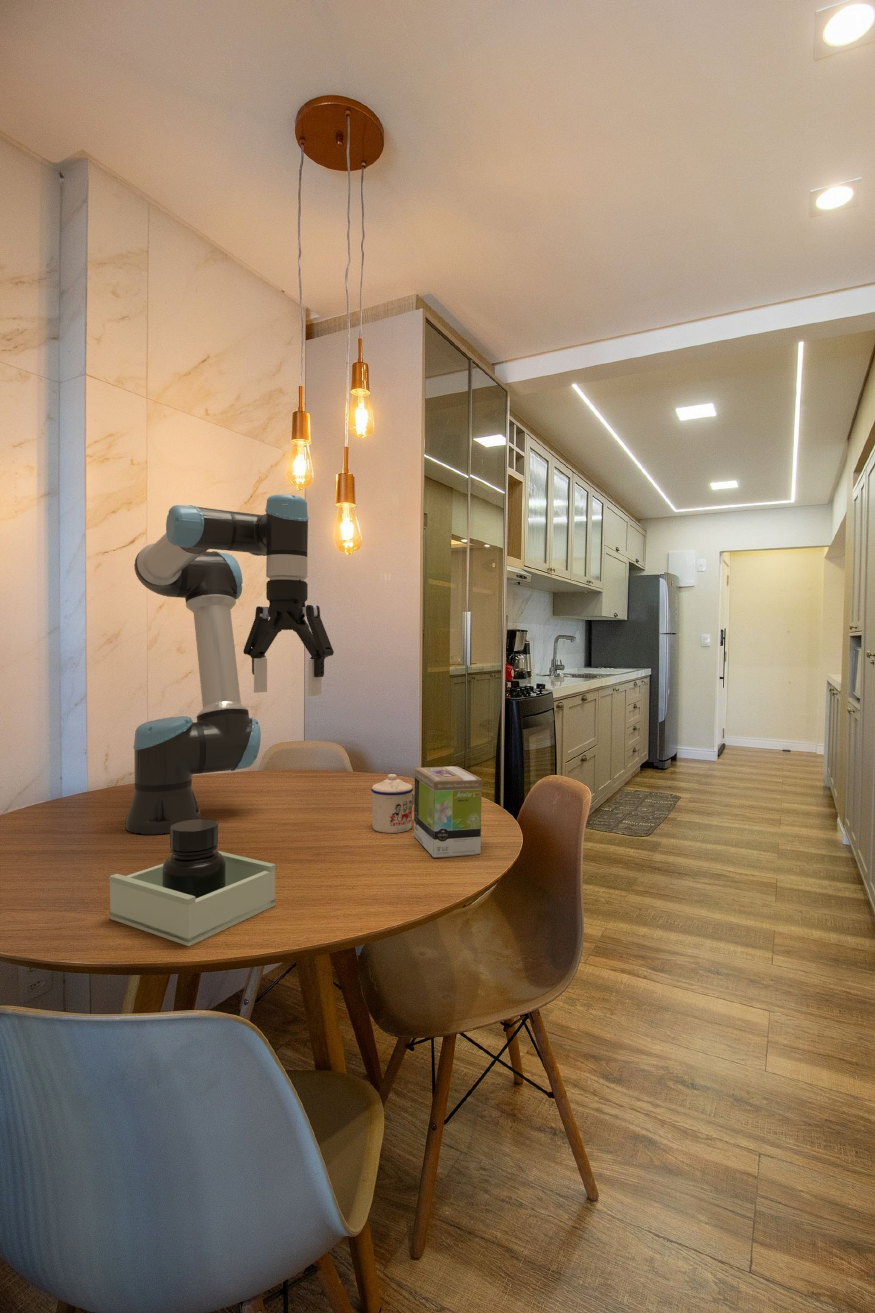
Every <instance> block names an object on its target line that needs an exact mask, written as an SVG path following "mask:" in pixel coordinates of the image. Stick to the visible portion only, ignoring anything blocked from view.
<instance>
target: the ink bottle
mask: <svg viewBox="0 0 875 1313" xmlns="http://www.w3.org/2000/svg"><path fill="white" fill-rule="evenodd" d="M218 847H219V822H218V821H216V820H214V819H213V820H212V819H208V818H207V819H205V818H203V819H202V818H200V819H196V820H187V821H181V822H178V823H175V824H173V825H171V827H170V833H169V848H170V849H169V850H170V852H171V854H170V856H168V858H167V859H166V860H165V861H164V862H163V863H162V864H163V874H162V887H165V888H168V889H171V890H175V891H178V892H182V893H185V894H188V895H192V896H195V899H197V898H199V897H202V896H204V895H207V894H209V893H211V892H214V891H216V890H219V889H221V888H224V887H226V869H225V858H224V856H223V855H222V854H220V853H219V852H218V851H219V850H217V849H218Z"/></svg>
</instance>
